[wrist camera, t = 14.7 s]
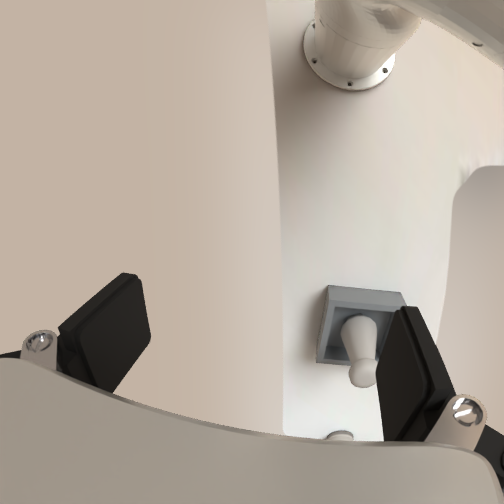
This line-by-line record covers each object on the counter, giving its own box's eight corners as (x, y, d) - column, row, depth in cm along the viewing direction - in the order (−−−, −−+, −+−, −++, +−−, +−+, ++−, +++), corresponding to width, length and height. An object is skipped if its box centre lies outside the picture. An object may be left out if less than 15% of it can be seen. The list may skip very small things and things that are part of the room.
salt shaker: (375, 307, 44) (390, 361, 32) (373, 335, 46) (385, 392, 34) (339, 310, 45) (344, 366, 33) (339, 338, 47) (343, 396, 35)
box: (328, 285, 45) (329, 299, 41) (400, 292, 43) (407, 307, 39) (316, 345, 50) (316, 362, 46) (381, 350, 48) (385, 367, 44)
